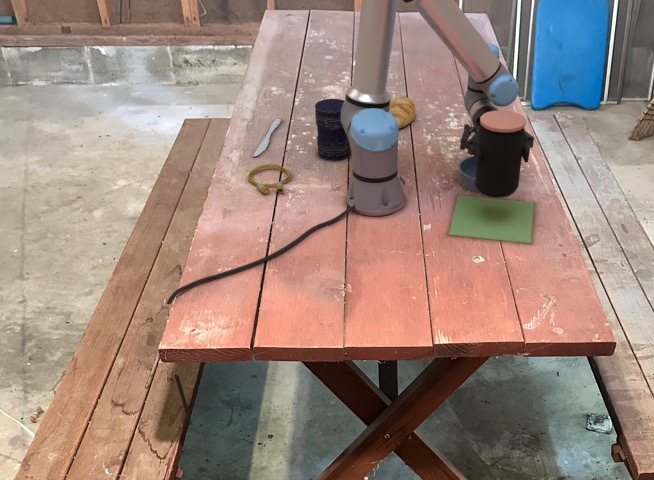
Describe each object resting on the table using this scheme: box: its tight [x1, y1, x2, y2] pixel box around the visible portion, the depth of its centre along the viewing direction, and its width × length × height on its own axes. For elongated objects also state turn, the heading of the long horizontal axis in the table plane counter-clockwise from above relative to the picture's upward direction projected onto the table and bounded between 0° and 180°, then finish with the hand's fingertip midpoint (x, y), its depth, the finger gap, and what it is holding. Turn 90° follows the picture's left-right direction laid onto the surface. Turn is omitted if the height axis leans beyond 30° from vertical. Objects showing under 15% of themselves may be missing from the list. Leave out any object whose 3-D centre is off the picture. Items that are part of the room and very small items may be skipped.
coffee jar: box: [475, 109, 527, 199], centre depth 168 cm, size 11×11×18 cm
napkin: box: [448, 194, 535, 245], centre depth 178 cm, size 20×20×1 cm
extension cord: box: [247, 163, 292, 195], centre depth 194 cm, size 12×16×2 cm
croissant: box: [389, 96, 416, 129], centre depth 226 cm, size 21×10×8 cm, turn 173°
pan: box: [457, 155, 480, 193], centre depth 194 cm, size 16×16×4 cm
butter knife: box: [252, 118, 282, 157], centre depth 216 cm, size 1×27×3 cm
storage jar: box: [314, 98, 352, 162], centre depth 203 cm, size 10×10×15 cm
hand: (503, 157), depth 164 cm, fingers closed on coffee jar, 11 cm apart
